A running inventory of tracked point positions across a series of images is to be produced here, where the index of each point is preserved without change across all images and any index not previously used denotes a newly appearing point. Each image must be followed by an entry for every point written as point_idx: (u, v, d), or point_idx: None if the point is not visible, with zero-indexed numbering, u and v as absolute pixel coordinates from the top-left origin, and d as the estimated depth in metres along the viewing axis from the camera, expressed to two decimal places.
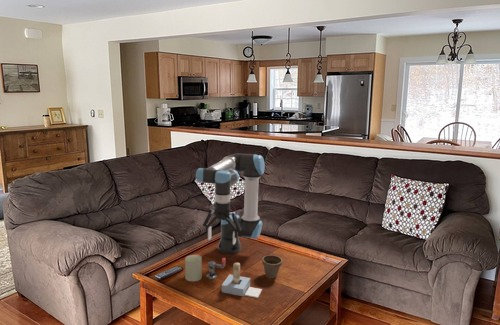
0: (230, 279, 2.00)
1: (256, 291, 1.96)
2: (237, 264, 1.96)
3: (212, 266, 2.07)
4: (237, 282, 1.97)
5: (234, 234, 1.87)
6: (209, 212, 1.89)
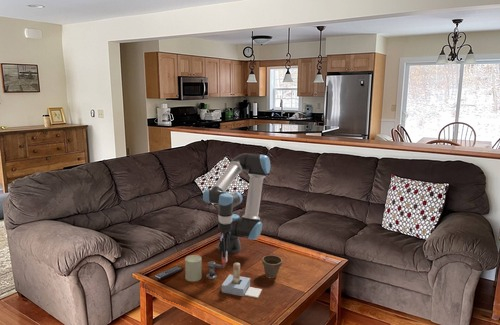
0: (230, 279, 2.00)
1: (256, 291, 1.96)
2: (237, 264, 1.96)
3: (212, 266, 2.07)
4: (237, 282, 1.97)
5: None
6: None
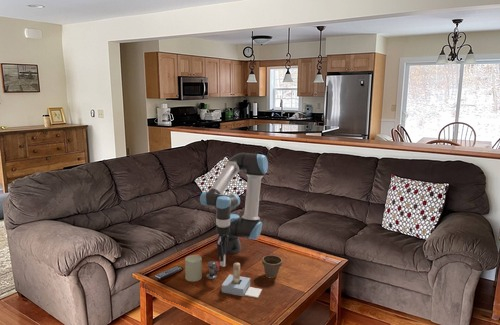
0: (230, 279, 2.00)
1: (256, 291, 1.96)
2: (237, 264, 1.96)
3: (209, 266, 2.07)
4: (237, 282, 1.97)
5: (220, 257, 2.03)
6: None
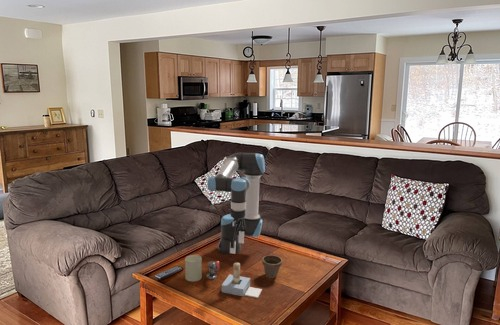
0: (230, 279, 2.00)
1: (256, 291, 1.96)
2: (237, 264, 1.96)
3: (209, 266, 2.07)
4: (237, 282, 1.97)
5: (230, 243, 1.87)
6: None
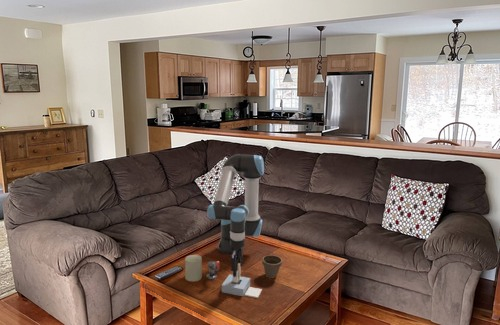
0: (230, 279, 2.00)
1: (256, 291, 1.96)
2: None
3: (209, 266, 2.07)
4: (237, 282, 1.97)
5: (233, 272, 1.95)
6: None
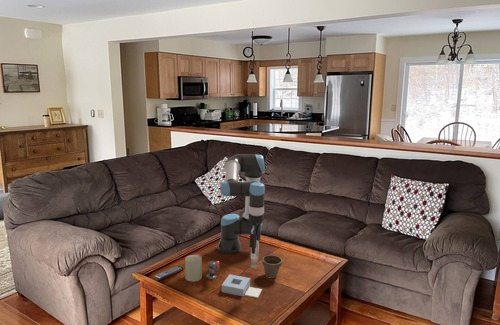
0: (230, 279, 2.00)
1: (256, 291, 1.96)
2: None
3: (209, 266, 2.07)
4: (255, 260, 1.90)
5: (251, 249, 1.88)
6: None
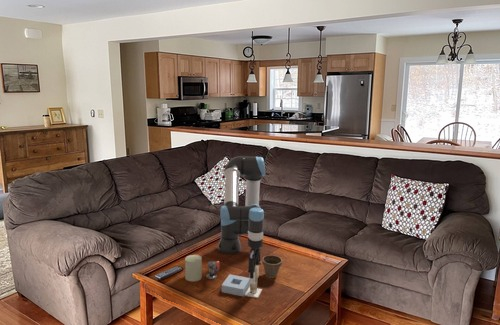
0: (230, 279, 2.00)
1: None
2: (255, 267, 1.92)
3: (209, 266, 2.07)
4: (255, 285, 1.93)
5: (250, 273, 1.90)
6: None
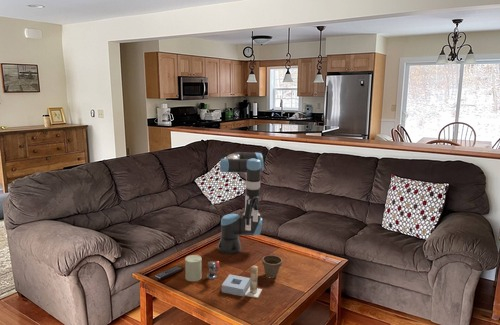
0: (230, 279, 2.00)
1: None
2: (255, 267, 1.92)
3: (209, 266, 2.07)
4: (255, 285, 1.93)
5: (246, 220, 1.95)
6: None
